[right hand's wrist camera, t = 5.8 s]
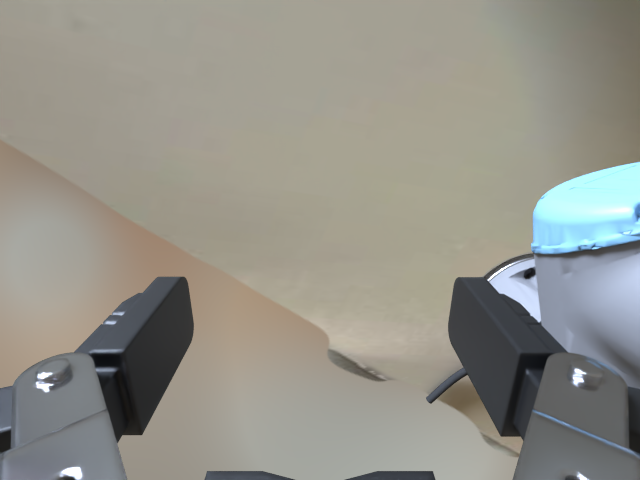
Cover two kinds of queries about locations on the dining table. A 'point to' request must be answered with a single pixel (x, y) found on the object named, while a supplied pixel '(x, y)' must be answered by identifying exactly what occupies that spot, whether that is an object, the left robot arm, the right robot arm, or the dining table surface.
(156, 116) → the dining table surface
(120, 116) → the dining table surface
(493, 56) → the dining table surface
